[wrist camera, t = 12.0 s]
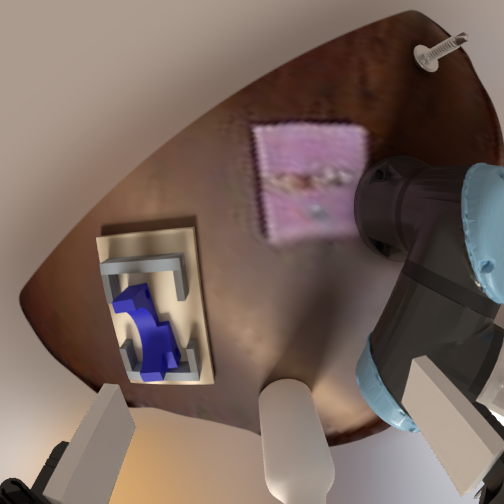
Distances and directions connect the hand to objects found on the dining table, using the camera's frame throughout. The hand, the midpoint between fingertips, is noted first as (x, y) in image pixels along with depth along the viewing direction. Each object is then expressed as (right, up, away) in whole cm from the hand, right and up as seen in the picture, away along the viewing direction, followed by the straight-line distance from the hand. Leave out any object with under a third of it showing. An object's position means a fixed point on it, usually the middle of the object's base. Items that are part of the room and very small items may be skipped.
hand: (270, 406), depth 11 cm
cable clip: (-15, -3, +28) cm, 32 cm away
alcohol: (+5, -18, +34) cm, 38 cm away
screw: (+26, +37, +22) cm, 50 cm away
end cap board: (-14, -2, +29) cm, 33 cm away
